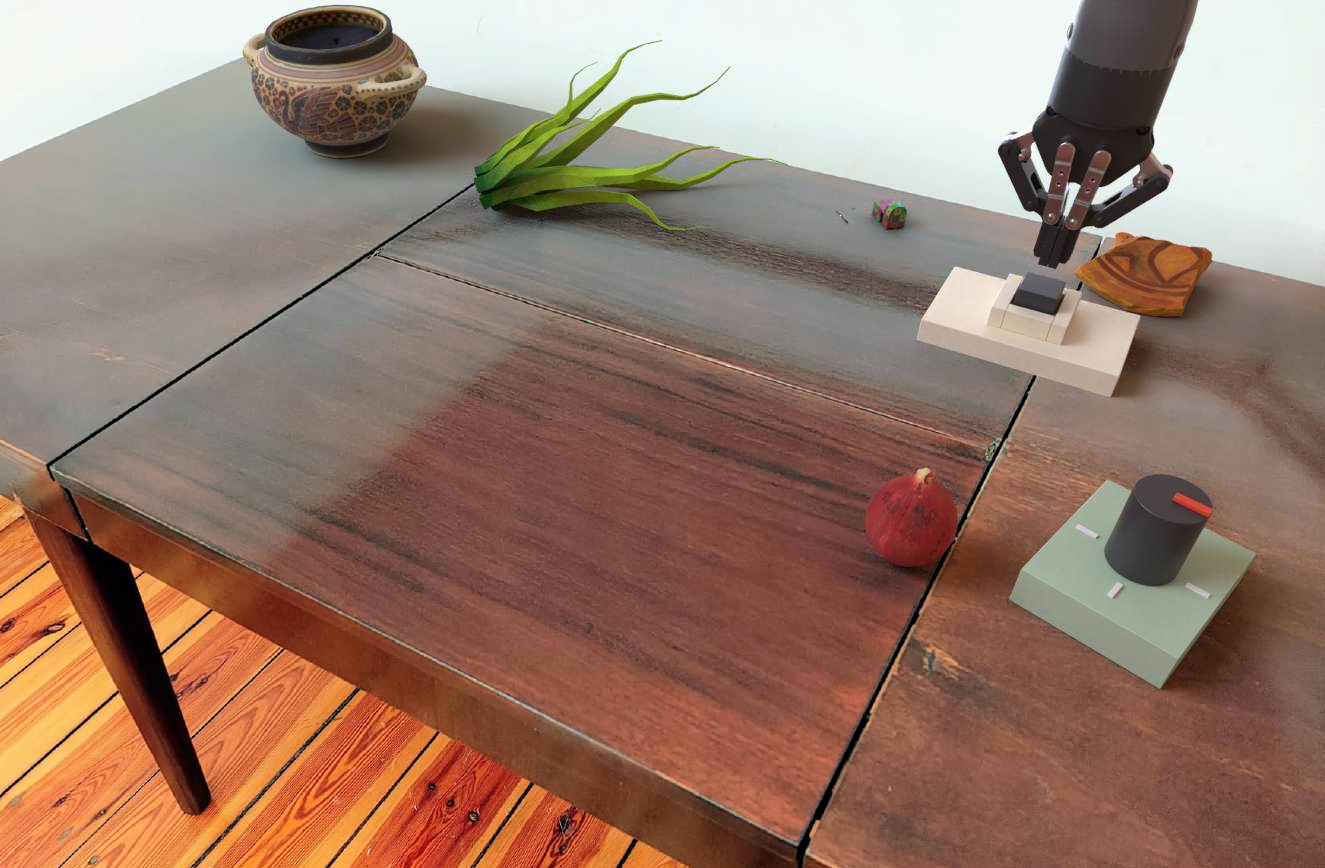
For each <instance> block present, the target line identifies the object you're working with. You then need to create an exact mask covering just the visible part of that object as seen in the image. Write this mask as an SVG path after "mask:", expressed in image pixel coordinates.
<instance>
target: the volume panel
mask: <svg viewBox="0 0 1325 868" xmlns="http://www.w3.org/2000/svg"><path fill="white" fill-rule="evenodd" d="M1131 491H1132V490H1130V489H1128V488H1127V487H1125V486H1122V485H1121V484H1119V483H1117V482H1114V481H1113V480H1110V479H1106V480H1105V481H1104V482H1103V483H1102V484H1101V485H1100V486H1099V487H1098V489H1096V491H1095V492H1093V494H1092V495H1091V496H1089V498H1088V499H1087V500H1086V501H1085V502H1084V503H1083V504H1082V505H1081V506H1080V507H1079V508H1078V509H1077V510H1076V511H1075V512H1074V513H1073V514H1072V515H1071V517H1070V518H1068V519H1067V521H1066V522H1065V523H1064V524H1063V525H1062V526H1061V527H1060V528H1058V530H1057V531H1056V532H1055V533H1054V534H1053V535H1052V536H1051V538H1049V539H1048V540H1047V542H1046V543H1045V544H1044V545H1042V547H1040V549H1039V550H1038V551H1037V552H1036V553H1035V554H1034V555H1033V556H1032V557H1031V558H1030V559H1029V560H1028V561H1027V562H1026V563H1025V565H1024V566H1022V567H1021V569H1020V572H1019V574H1018V576H1017V579H1016V581H1015V584H1014V586H1013V588H1012V590H1011V594H1010V595H1009V598H1008V600H1009V601H1010V602H1012V603H1014V604H1016V605H1017V606H1018V607H1020V608H1022V609H1024V610H1026V611H1027V612H1029V613H1031V614H1032V615H1034V616H1036V617H1037V618H1039V619H1041V620H1042V621H1044V622H1045V623H1047V624H1048V625H1051V626H1053V627H1054V628H1056V629H1058V630H1059V631H1061V632H1062V633H1064V634H1066V635H1068V636H1069V637H1071V638H1073V639H1074V640H1076V641H1078V642H1079V643H1081V644H1083V645H1085V646H1086V647H1088V648H1090V649H1091V650H1093V651H1095V652H1096V653H1098V654H1100V655H1101V656H1103V657H1105V658H1107V659H1109V660H1110V661H1112V662H1113V663H1115V664H1116V665H1118V666H1120V667H1122V668H1123V669H1124V670H1127V671H1129V672H1130V673H1132V674H1133V675H1135V676H1137V677H1138V678H1140V679H1142V680H1143V681H1145V682H1147V683H1148V684H1150V685H1152V686H1154V687H1155V688H1157V689H1159V690H1161V689H1162V688H1163V687H1164V685H1165V684H1166V682H1167V681H1168V680H1169V679H1170V677H1171V676H1172V674H1173V673H1174V671H1175V670H1176V669H1177V667H1178V666H1179V665H1180V663H1181V662H1182V661H1183V659H1184V658H1186V657H1185V656H1186V655H1187V654H1188V653H1189V651H1190V650H1191V649H1192V647H1193V646H1194V644H1195V643H1196V642H1197V640H1198V639H1199V638H1200V636H1201V635H1202V633H1204V631H1205V629H1206V628H1207V627H1208V626H1209V624H1210V623H1211V622H1212V620H1213V619H1214V617H1215V616H1216V615H1217V613H1218V612H1219V611H1220V609H1221V608H1222V607H1223V605H1224V604H1225V603H1226V602H1227V600H1228V599H1229V597H1230V596H1231V594H1232V593H1233V592H1234V591H1235V589H1236V588H1237V586H1238V585H1239V584H1240V582H1241V580H1242V579H1243V577H1244V576H1245V574H1246V572H1247V571H1248V569H1249V568H1250V566H1251V565H1252V563H1253V562H1254V559H1255V558H1256V556H1257V555H1258V553H1257V552H1256V551H1253V550H1250V549H1249V548H1246V547H1244V546H1242V545H1241V544H1238V543H1237V542H1235V541H1233V540H1230V539H1228V538H1226V537H1225V536H1222V535H1221V534H1219V533H1217V532H1214V531H1213V530H1210V529H1209V528H1207V527H1204V528H1203V530H1202V532H1201V534H1200V536H1199V537H1198V539H1197V541H1196V543H1195V544H1194V546H1193V548H1192V550H1191V551H1190V553H1189V555H1188V557H1187V558H1186V560H1185V562H1184V564H1183V566H1182V567H1181V569H1180V571H1179V573H1178V574H1177V576H1176V578H1175V579H1174V580H1173V581H1171V582H1169V583H1167V584H1164V585H1160V586H1149V585H1143V584H1139V583H1135V582H1133V581H1130V580H1128V579H1126V578H1124V577H1123V576H1121V575H1120V574H1118V573H1117V572H1116V571H1115V570H1114V569H1113V568H1112V567H1111V566H1110V565H1109V564H1108V562H1107V560H1106V558H1105V554H1104V548H1105V545H1106V543H1107V541H1108V539H1109V537H1110V535H1111V533H1112V531H1113V529H1114V527H1115V524H1116V522H1117V520H1118V518H1119V516H1120V514H1121V512H1122V510H1123V508H1124V506H1125V504H1126V502H1127V500H1128V497H1129V495H1130V493H1131Z"/></svg>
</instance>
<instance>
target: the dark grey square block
mask: <svg viewBox="0 0 1325 868" xmlns="http://www.w3.org/2000/svg"><path fill="white" fill-rule="evenodd" d="M1023 277H1024V279H1023V281H1022V283H1021V285H1020V287H1019V288H1018V291H1017V294H1016V297H1015V300H1014V304H1013V305H1016V306H1019V307H1023V308H1027V309H1030V310H1034V311H1038V312H1041V313H1045V314H1049V315H1052V316H1053V314H1054V311H1055V309H1056V307H1057V305H1058V303H1059V301H1060V298H1061V295H1062V293H1063V290H1064V288H1066V284H1067V281H1065V280H1061V279H1058V278H1054V277H1049V276H1045V275H1042V274H1039V273H1034V272H1030V271H1027V272H1026V274H1025V275H1024V276H1023Z"/></svg>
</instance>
